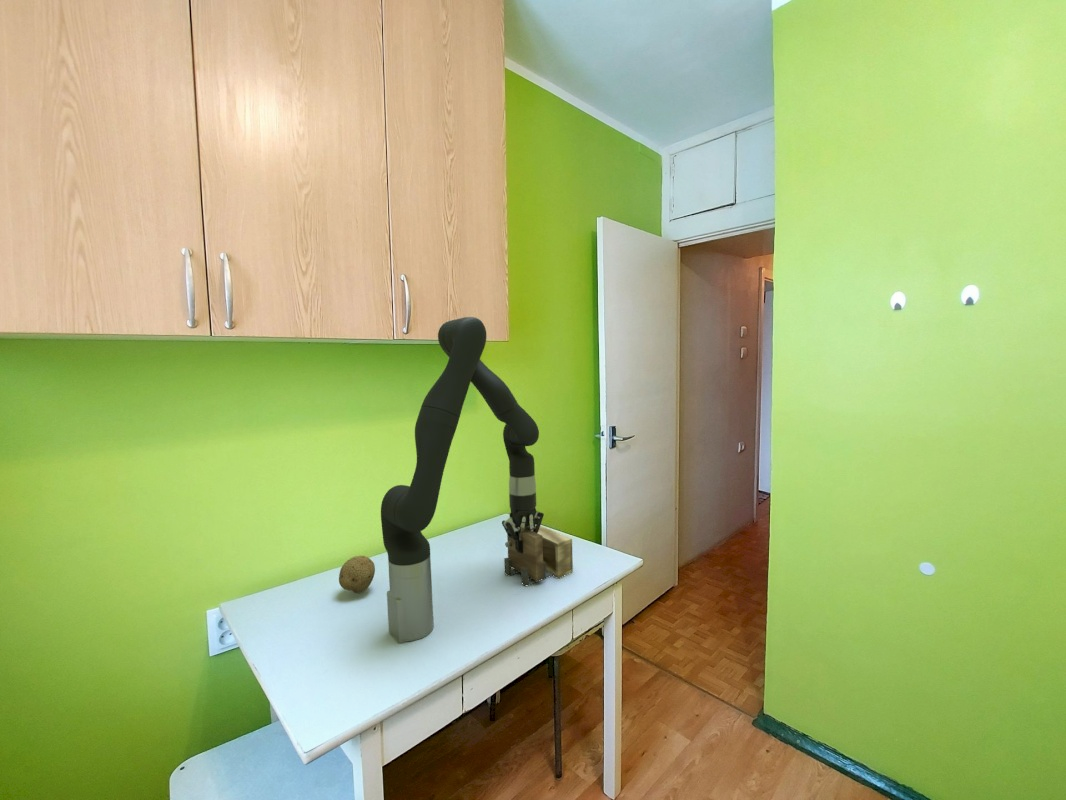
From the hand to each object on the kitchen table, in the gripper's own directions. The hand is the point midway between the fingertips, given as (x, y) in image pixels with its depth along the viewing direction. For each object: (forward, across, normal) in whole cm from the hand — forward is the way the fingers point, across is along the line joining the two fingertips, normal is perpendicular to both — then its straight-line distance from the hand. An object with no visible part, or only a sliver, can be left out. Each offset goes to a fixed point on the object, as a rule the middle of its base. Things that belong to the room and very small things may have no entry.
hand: (524, 550), depth 130 cm
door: (+6, 0, 0) cm, 6 cm away
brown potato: (+8, -39, +22) cm, 46 cm away
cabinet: (+7, +4, 0) cm, 9 cm away
